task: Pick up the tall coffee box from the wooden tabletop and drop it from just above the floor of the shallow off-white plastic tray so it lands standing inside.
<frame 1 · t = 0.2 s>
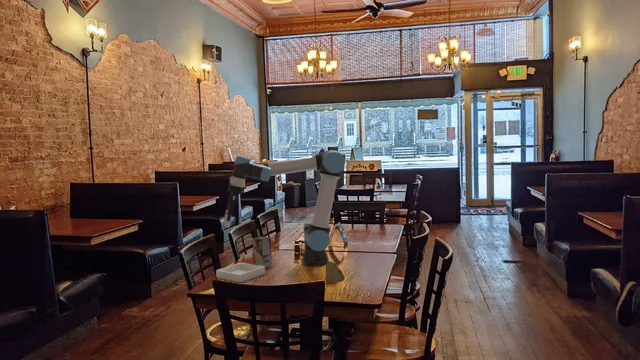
hand: (226, 224, 249), 28 cm above the table, tool tilted 20°, fingers open, 13 cm apart
coffee box: (263, 266, 268), on the table
tray: (241, 275, 250), on the table
rock: (334, 281, 234), on the table
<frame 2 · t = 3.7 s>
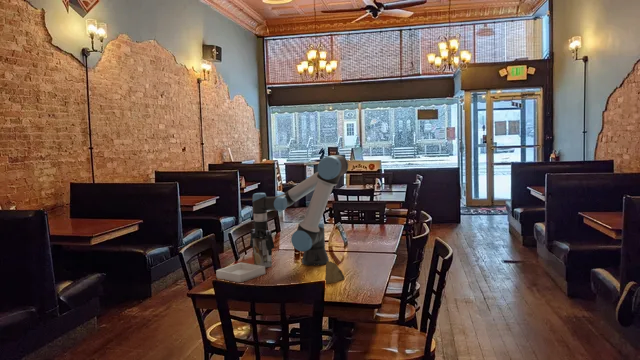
hand: (262, 259, 268), 4 cm above the table, tool pointing down, fingers closed on coffee box, 9 cm apart
coffee box: (263, 266, 268), on the table, touching gripper
everything else where it was.
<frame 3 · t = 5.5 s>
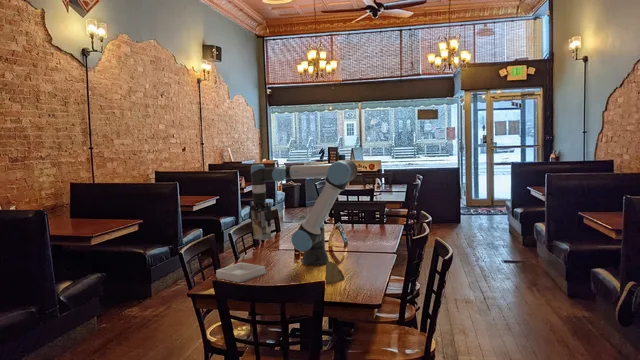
hand: (261, 231, 266), 20 cm above the table, tool pointing down, fingers closed on coffee box, 9 cm apart
coffee box: (262, 238, 267), point 16 cm above the table, touching gripper
everything else where it was.
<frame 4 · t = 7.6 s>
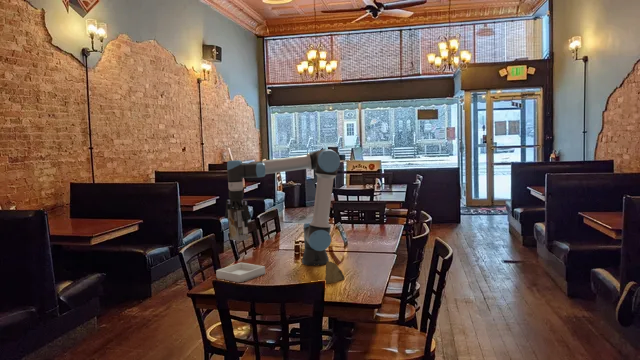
hand: (238, 232, 248), 23 cm above the table, tool pointing down, fingers closed on coffee box, 9 cm apart
coffee box: (239, 239, 249), point 19 cm above the table, touching gripper
everything else where it was.
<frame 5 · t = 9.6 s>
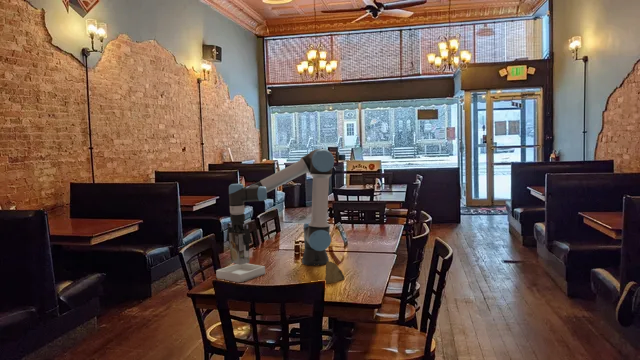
hand: (239, 255, 249), 11 cm above the table, tool pointing down, fingers closed on coffee box, 9 cm apart
coffee box: (240, 262, 250), point 7 cm above the table, touching gripper
everything else where it was.
when the fingers open (7 cm above the table, at t = 11.4 s): coffee box drops 2 cm, resting on tray.
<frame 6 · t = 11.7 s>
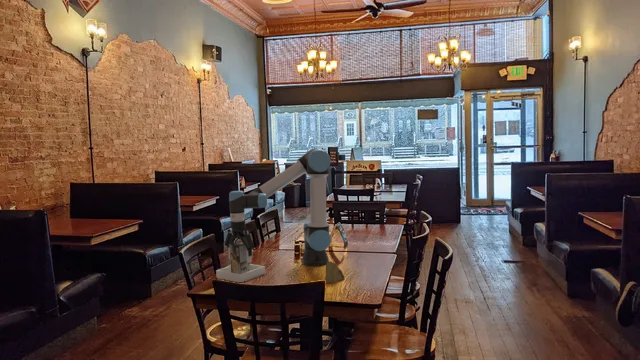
hand: (240, 260, 250), 8 cm above the table, tool pointing down, fingers open, 13 cm apart
coffee box: (240, 274, 250), point 1 cm above the table, touching tray
everything else where it was.
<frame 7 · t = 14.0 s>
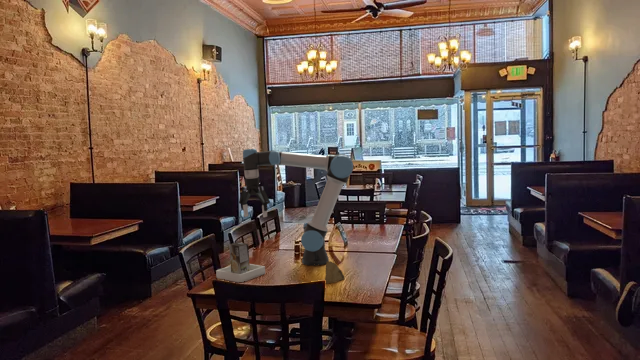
hand: (255, 216, 257), 30 cm above the table, tool pointing down, fingers open, 13 cm apart
nothing on the table moved.
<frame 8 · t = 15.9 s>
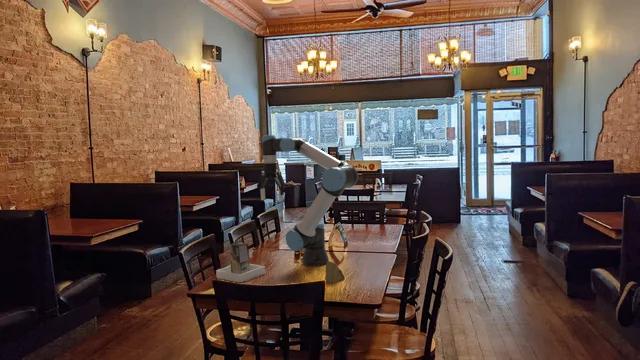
hand: (272, 200, 267), 37 cm above the table, tool pointing down, fingers open, 13 cm apart
nothing on the table moved.
at the end: coffee box inside the target area on the tray (0.3 cm from its centre), point 0.8 cm above the tray's base; coffee box tilted 0°; the gripper is holding nothing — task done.
